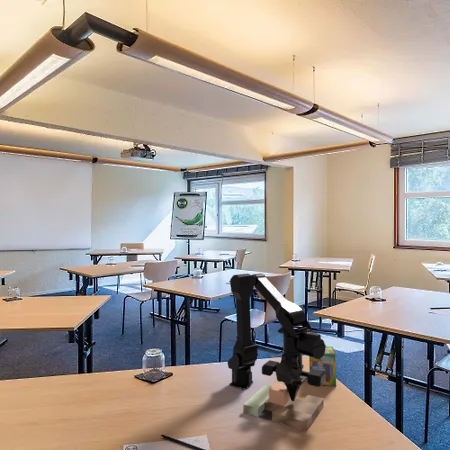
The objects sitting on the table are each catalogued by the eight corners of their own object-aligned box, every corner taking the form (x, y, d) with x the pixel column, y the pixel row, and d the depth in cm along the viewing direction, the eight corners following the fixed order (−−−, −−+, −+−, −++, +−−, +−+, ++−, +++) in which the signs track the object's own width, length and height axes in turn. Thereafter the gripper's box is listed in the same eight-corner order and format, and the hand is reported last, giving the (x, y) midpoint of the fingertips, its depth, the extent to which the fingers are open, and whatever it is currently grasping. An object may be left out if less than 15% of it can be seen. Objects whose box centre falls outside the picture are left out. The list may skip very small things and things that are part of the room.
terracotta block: (269, 401, 112) (268, 388, 112) (275, 395, 116) (275, 382, 116) (284, 405, 109) (284, 392, 109) (290, 398, 113) (290, 386, 113)
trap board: (243, 412, 110) (243, 404, 110) (265, 391, 124) (265, 384, 124) (306, 431, 100) (306, 422, 100) (323, 406, 114) (323, 398, 114)
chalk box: (336, 387, 127) (336, 345, 127) (309, 384, 129) (309, 343, 129) (333, 376, 136) (333, 337, 137) (309, 374, 138) (308, 335, 138)
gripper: (253, 352, 108) (254, 404, 108) (314, 364, 99) (315, 421, 99) (268, 342, 118) (269, 389, 118) (325, 351, 108) (326, 403, 108)
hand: (293, 400), depth 110 cm, fingers closed
